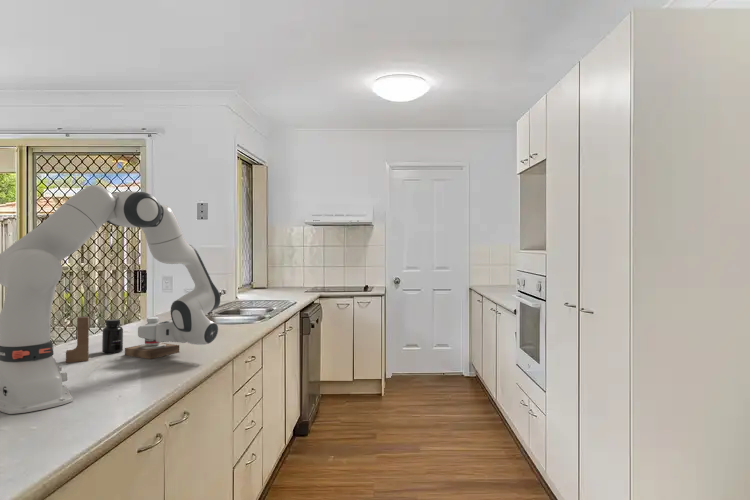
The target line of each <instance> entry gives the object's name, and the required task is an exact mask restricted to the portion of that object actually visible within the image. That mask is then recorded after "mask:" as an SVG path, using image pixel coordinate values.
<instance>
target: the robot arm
mask: <svg viewBox="0 0 750 500" xmlns="http://www.w3.org/2000/svg"><path fill="white" fill-rule="evenodd" d="M106 223H108V224H110V225H111V226H112V225H113V226H114V227H115V226H116V227H124V228H131V229H132V228H140V229H141V230H142V232H143V233H144V236H145V239H146V242H147V243H146V244H147V246H148V248H149V251H150V253H151V256H152V257H153V258H154V259H155V260H156V261H158V262H160V263H162V264H168V265H173V264H174V265H175V264H176V265H178V264H181V265H183V266H184V267H186V269H187V271H188V273H189V276H190V278H191V279H192V281H193V284H194V288H193V289H192V290H191V291H189V292H187V293H185V294H184V295H182V296H181V297H179V298H177V299H175V300H174V301H173V302H172V303H171V306H170V319H167V320H164V321H162V322H161V321H160V322H158V323H157V324H151V325H146V324H145V325H139V326H138V328H137V337H138V338H142V339H144V340H145V339H150V340H156V342H161V343H169V342H170V343H179V344H181V343H182V344H185V343H188V344H191V345H201V346H203V345H209V344H211V343H212V342H213V341H214V340H215V339H216V338H217V336H218V333H219V325H218V324H217V323H216V322H214V321H212V320H210V319H209V318H208V317H207V314H208V313H211V312H213V311H214V310H216V309H217V308H219V306H220V304H221V293H220V291H219V289H218V288H217V286H216V285H215V284H214V282H213V281H212V279H211V277H210V274H209V272H208V271H207V268H206V266H205V264H204V262H203V260H202V258H201V256H200V254H199V252H198V251H197V249H196V248H195V247H194V246H193V245H192V244H189V243H188V242H187V241H186V239H185V236H184V233H183V231H182V228H181V226H180V223H179V221H178V219H177V217H176V215H175V213H174V212H173V209H171V207H170V206H168V205H165V204H161V203H160V202H159V201H158V199H157V198H156V197H155V196H154V195H152V194H150V193H148V192H146V191H145V192H144V191H130V190H126V191H125V190H124V191H113V192H111V191H110V190H108V189H107V188H105V187H103V186H101V185H98V184H97V185H96V184H93V185H92V184H91V185H88V186H86V187H84V188H83V189H81V190H80V191H78V192H77V193H75V194H74V195H72V196H71V197H69V199H67V200H66V201H65V202H64V203H62V205H61V206H59V207H58V208H57V209H56V210H55V211H54V212H53V213H52V214H50V215H49V217H47V218H46V219H45V220H44V221H42V222H41V223H40V224H39V225H38V226H36V227H35V228H33V229H32V230H31V231H30V232H28V233H26V234H24V236H22V237H21V238H20V239H18V240H17V241H16V242H14V243H12V244H11V245H10V246H8V248H7V249H5V250H4V251H2V252H1V253H0V285H1V286H3V287H5V288H6V290H5V291H6V292H5V293H6V294H5V298H4V303H3V306H2V310H1V311H0V412H2V413H4V414H8V415H15V414H23V413H24V414H25V413H29V412H36V411H40V410H41V411H42V410H46V409H51V408H54V407H55V408H56V407H59V406H62V405H66V404H69V403H71V402H73V399H74V398H73V396H72V395H71V393H70V391H69V389H68V387H67V386H66V385H65V384H63V383H64V382H67V381H68V372H62V367H63V366H61V365H59V366H58V362H57V359H56V358H54V354H55V353H54V345H53V340H52V339H51V324H52V322H51V315H52V307H53V301H54V297H55V293H56V289H57V288H56V287H57V285H58V283H59V281H60V279H61V278H62V275H63V266H62V263H61V262H62V261H63V260H64V259H66V258H68V257H69V256H71V255H72V254H74V253H76V252H77V251H78V250H79V249H80V248H81V247H83V245H84V244H85V243H87V241H88V240H89V239H91V237H92V236H94V234H95V233H96V232H97V231H98V230H99V229H100V228H101V227H102V226H103V225H104V224H106Z"/></svg>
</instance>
